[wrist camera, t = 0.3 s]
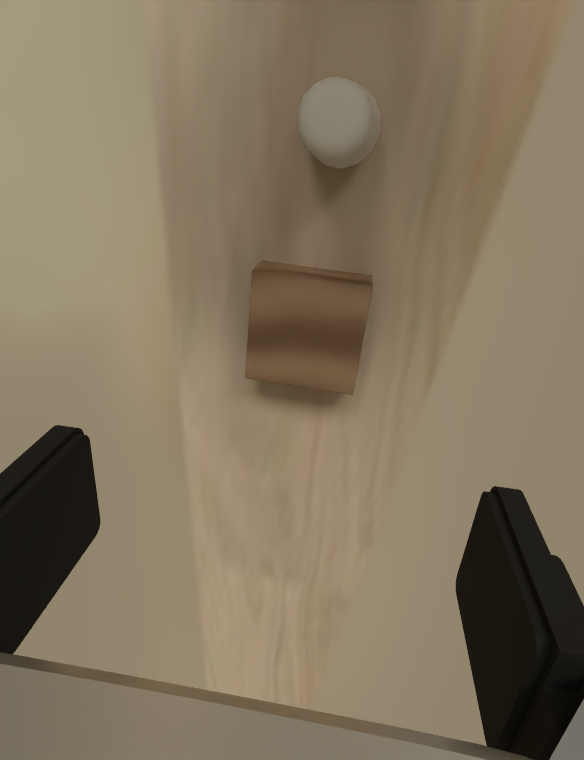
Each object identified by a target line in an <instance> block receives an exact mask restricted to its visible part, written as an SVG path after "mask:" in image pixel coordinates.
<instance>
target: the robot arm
mask: <svg viewBox="0 0 584 760" xmlns="http://www.w3.org/2000/svg"><path fill="white" fill-rule="evenodd" d="M99 527H100V514H99V507H98V499H97V491H96V484H95V477H94V468H93V461H92V453H91V446H90V440H89V437H88V436H87V435H84V433H83V431H82V429H80V428H74V427H66V426H60V425H57V426H54V427H53V428H51V429H50V430H49V431H48V432H47V433H46V434H45V435H43V436H42V437H41V438H40V439H39V440H38V441H37V442H35V443H34V444H33V445H32V446H31V447H30V448H29V449H28V450H26V451H25V452H24V453H23V454H22V455H21V456H20V457H19V458H17V459H16V460H15V461H14V462H13V463H12V464H11V465H10V466H8V467H7V468H6V469H5V470H4V471H3V472H2V473H1V474H0V760H584V606H583V604H582V602H581V599H580V597H579V595H578V593H577V591H576V589H575V587H574V585H573V582H572V580H571V578H570V576H569V574H568V572H567V570H566V568H565V565H564V564H563V562H562V561H561V559H560V558H559V557H557V556H555V555H551V554H550V552H549V549H548V547H547V545H546V543H545V540H544V538H543V536H542V534H541V532H540V529H539V527H538V525H537V523H536V521H535V519H534V516H533V514H532V512H531V510H530V507H529V505H528V503H527V501H526V498H525V497H524V494H523V492H522V491H521V490H518V489H511V488H503V487H496V486H494V487H493V488H492V489H491V491H490V492H483V493H482V495H481V498H480V501H479V505H478V508H477V511H476V514H475V519H474V521H473V525H472V528H471V531H470V534H469V538H468V541H467V545H466V548H465V551H464V554H463V558H462V561H461V564H460V568H459V571H458V574H457V578H456V595H457V600H458V605H459V610H460V615H461V619H462V624H463V630H464V634H465V639H466V645H467V650H468V655H469V659H470V665H471V670H472V675H473V680H474V685H475V690H476V695H477V700H478V705H479V710H480V715H481V720H482V725H483V730H484V735H485V740H486V744H487V746H483V745H479V744H475V743H471V742H466V741H461V740H457V739H452V738H447V737H442V736H438V735H433V734H428V733H423V732H419V731H414V730H409V729H405V728H400V727H395V726H390V725H385V724H379V723H375V722H370V721H365V720H359V719H354V718H349V717H344V716H339V715H334V714H329V713H323V712H318V711H313V710H308V709H303V708H298V707H293V706H287V705H282V704H277V703H272V702H267V701H261V700H256V699H251V698H246V697H240V696H235V695H230V694H224V693H219V692H214V691H209V690H203V689H198V688H193V687H187V686H182V685H176V684H171V683H166V682H160V681H155V680H150V679H145V678H139V677H133V676H128V675H123V674H117V673H112V672H107V671H101V670H95V669H90V668H85V667H79V666H74V665H68V664H63V663H57V662H51V661H46V660H41V659H35V658H30V657H24V656H19V655H13V653H14V652H15V651H16V649H17V648H18V646H19V645H20V644H21V642H22V641H23V639H24V638H25V636H26V635H27V634H28V632H29V631H30V629H31V628H32V626H33V625H34V624H35V622H36V621H37V619H38V618H39V616H40V615H41V613H42V612H43V611H44V609H45V608H46V606H47V605H48V603H49V602H50V601H51V599H52V598H53V596H54V595H55V594H56V592H57V591H58V589H59V588H60V586H61V585H62V584H63V582H64V581H65V579H66V578H67V576H68V575H69V574H70V572H71V571H72V569H73V568H74V566H75V565H76V564H77V562H78V561H79V559H80V558H81V556H82V555H83V554H84V552H85V551H86V549H87V548H88V546H89V545H90V544H91V542H92V540H93V539H94V538H95V536H96V535H97V533H98V530H99Z"/></svg>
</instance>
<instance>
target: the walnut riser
mask: <svg viewBox="0 0 584 760" xmlns="http://www.w3.org/2000/svg"><path fill="white" fill-rule="evenodd" d="M371 292H372V276H369V275H362V274H354V273H347V272H340V271H332V270H325V269H318V268H310V267H303V266H296V265H288V264H281V263H273V262H266V261H261V262H260V263H259V264H258V265H257V267H256V268H255V269H254V270H253V271H252V284H251V299H250V314H249V329H248V344H247V359H246V374H245V378H247V379H254V380H260V381H266V382H273V383H279V384H286V385H292V386H299V387H305V388H311V389H318V390H324V391H331V392H337V393H343V394H350V395H353V392H354V386H355V381H356V375H357V370H358V364H359V359H360V353H361V347H362V342H363V336H364V331H365V325H366V320H367V314H368V308H369V303H370V297H371Z"/></svg>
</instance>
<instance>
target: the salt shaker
mask: <svg viewBox="0 0 584 760" xmlns="http://www.w3.org/2000/svg"><path fill="white" fill-rule="evenodd" d="M297 123H298V132H299V135H300V137H301V139H302V142H303V144H304V146H305V148H307V149H308V150H309V151H310V152H311V154H312V155H313V156H314V157H316V158H317V159H318V160H319V161H321V162H322V163H323V164H324V165H327V166H331V167H335V168H339V169H343V168H347V167H350V166H353V165H357V164H359V163H360V162H361V161H362V160H363V159H365V158H366V157H367V156H368V155H369V154H371V153H372V151H373V149H374V147H375V145H376V142H377V140H378V138H379V136H380V128H381V113H380V110H379V108H378V106H377V103H376V101H375V98H374V96H373V95H372V94H370V93H369V92H368V91H367V90H366V89H365V88H364V87H363V86H362V85H361V84H357V83H355V82H354V81H352V80H351V79H347V78H342V77H337V76H332V77H329V78H326V79H323V80H319V81H317V82H316V83H315V84H314V85H313V86H312V87H311V88H310V89H309V90H308V91H307V92H306V93H305V94H304V96H303V99H302V101H301V104H300V106H299V109H298V111H297Z"/></svg>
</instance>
